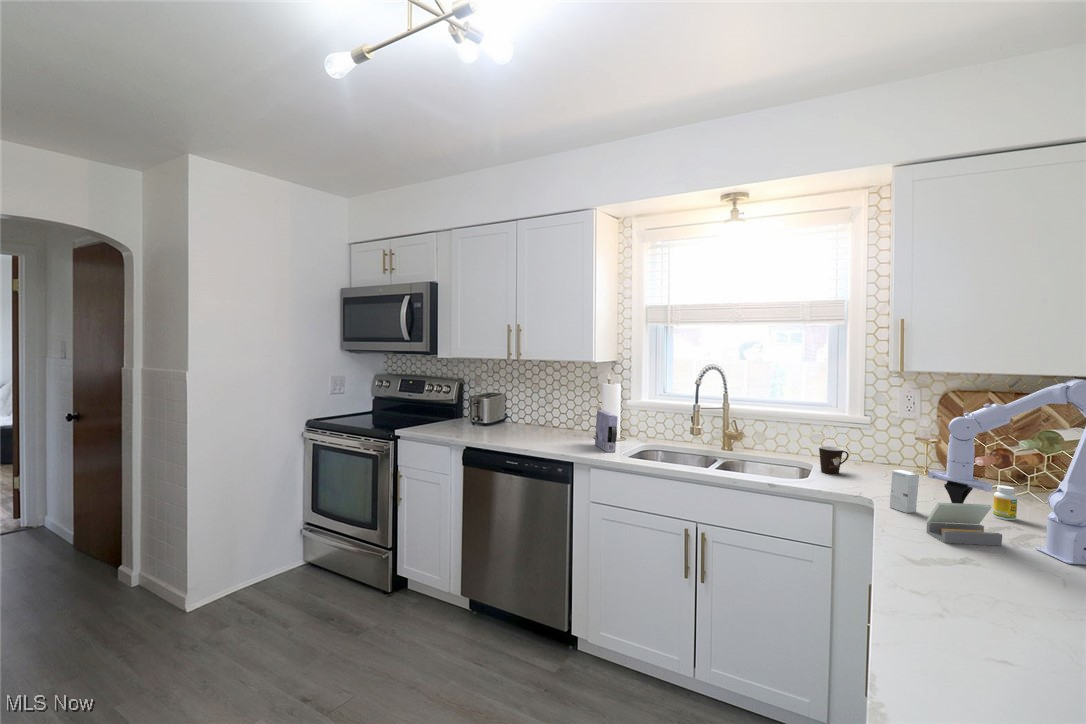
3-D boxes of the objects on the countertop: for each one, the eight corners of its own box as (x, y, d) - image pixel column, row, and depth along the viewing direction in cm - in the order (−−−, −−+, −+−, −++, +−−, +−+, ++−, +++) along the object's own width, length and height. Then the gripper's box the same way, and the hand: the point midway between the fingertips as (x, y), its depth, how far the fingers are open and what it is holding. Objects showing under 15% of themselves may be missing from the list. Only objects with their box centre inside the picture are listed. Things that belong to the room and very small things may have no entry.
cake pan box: (617, 453, 245) (618, 415, 244) (607, 453, 244) (608, 415, 243) (604, 445, 264) (604, 410, 263) (594, 445, 263) (595, 410, 262)
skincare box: (888, 507, 169) (890, 470, 168) (899, 506, 170) (900, 469, 169) (907, 513, 163) (908, 474, 162) (917, 512, 164) (919, 473, 164)
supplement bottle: (996, 514, 164) (997, 483, 163) (1018, 519, 159) (1020, 487, 159) (990, 517, 161) (991, 486, 160) (1012, 522, 156) (1014, 490, 156)
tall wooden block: (985, 538, 140) (985, 532, 140) (945, 536, 141) (945, 530, 141) (980, 536, 142) (980, 530, 142) (941, 534, 142) (941, 528, 142)
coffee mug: (820, 474, 212) (821, 449, 211) (816, 469, 220) (816, 445, 219) (853, 476, 208) (854, 451, 208) (847, 471, 216) (848, 447, 216)
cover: (991, 507, 140) (989, 504, 141) (939, 504, 141) (937, 502, 142) (979, 524, 144) (977, 521, 145) (928, 522, 145) (927, 519, 146)
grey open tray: (1001, 545, 137) (1002, 534, 137) (944, 543, 138) (945, 531, 138) (980, 535, 144) (980, 524, 144) (926, 532, 146) (926, 522, 146)
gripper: (1000, 466, 138) (997, 517, 139) (940, 454, 151) (937, 501, 152) (984, 468, 135) (981, 520, 136) (924, 456, 148) (922, 503, 149)
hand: (957, 510), depth 144 cm, fingers closed, pressing on cover
